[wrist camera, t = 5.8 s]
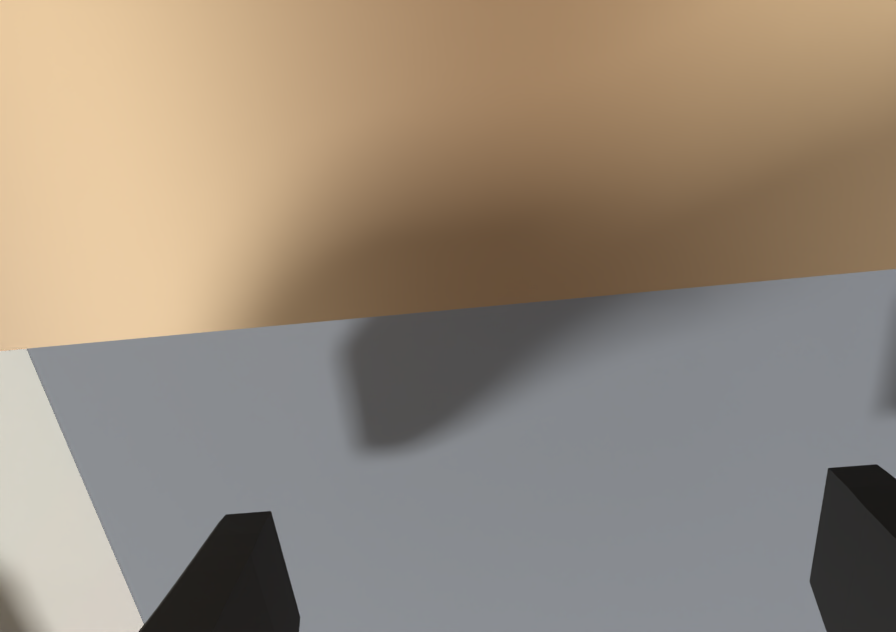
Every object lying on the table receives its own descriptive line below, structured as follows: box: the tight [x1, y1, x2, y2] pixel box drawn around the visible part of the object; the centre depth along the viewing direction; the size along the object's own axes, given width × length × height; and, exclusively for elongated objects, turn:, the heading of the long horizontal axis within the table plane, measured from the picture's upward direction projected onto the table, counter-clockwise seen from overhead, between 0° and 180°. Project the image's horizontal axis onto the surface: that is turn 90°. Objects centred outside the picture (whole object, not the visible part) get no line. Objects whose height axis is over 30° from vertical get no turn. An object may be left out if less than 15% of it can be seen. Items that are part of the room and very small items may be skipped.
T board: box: [27, 269, 896, 632], centre depth 12 cm, size 14×23×1 cm, turn 6°
